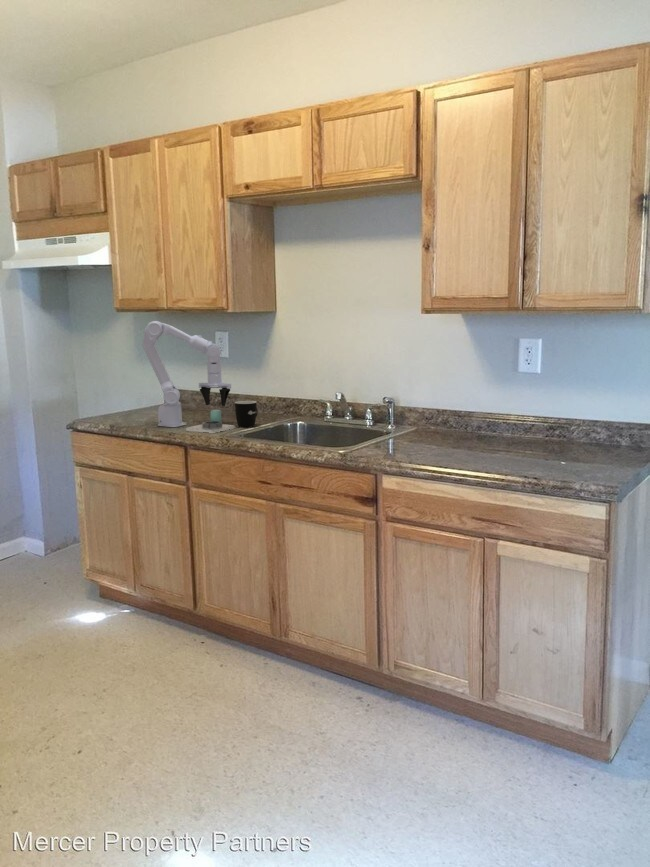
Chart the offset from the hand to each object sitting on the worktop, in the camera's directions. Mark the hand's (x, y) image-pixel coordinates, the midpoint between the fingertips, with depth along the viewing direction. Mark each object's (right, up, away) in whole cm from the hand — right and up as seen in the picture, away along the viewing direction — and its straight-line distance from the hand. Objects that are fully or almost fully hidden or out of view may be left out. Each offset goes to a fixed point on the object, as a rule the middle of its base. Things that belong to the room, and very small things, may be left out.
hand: (215, 405), depth 304 cm
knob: (0, -8, +1) cm, 8 cm away
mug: (+14, -9, -2) cm, 17 cm away
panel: (0, -10, -11) cm, 15 cm away
